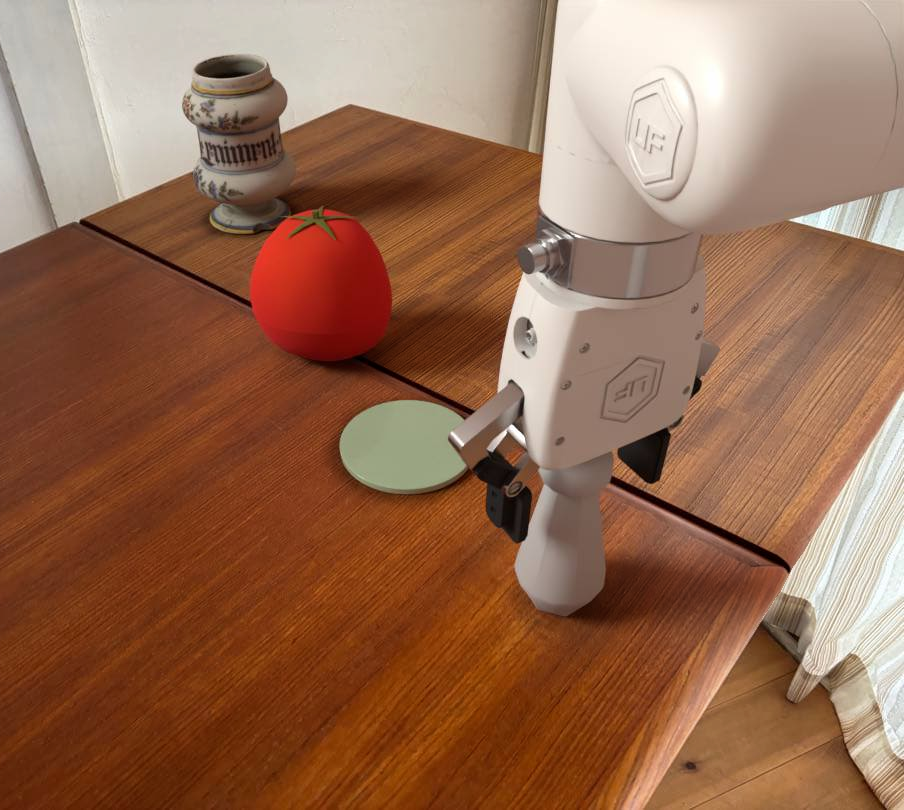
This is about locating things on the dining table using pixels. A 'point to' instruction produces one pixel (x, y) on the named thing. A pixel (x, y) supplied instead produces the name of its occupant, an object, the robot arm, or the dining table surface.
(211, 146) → the apothecary jar
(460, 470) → the coaster
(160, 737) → the dining table surface
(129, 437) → the dining table surface
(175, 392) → the dining table surface
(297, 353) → the tomato
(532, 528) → the salt shaker
